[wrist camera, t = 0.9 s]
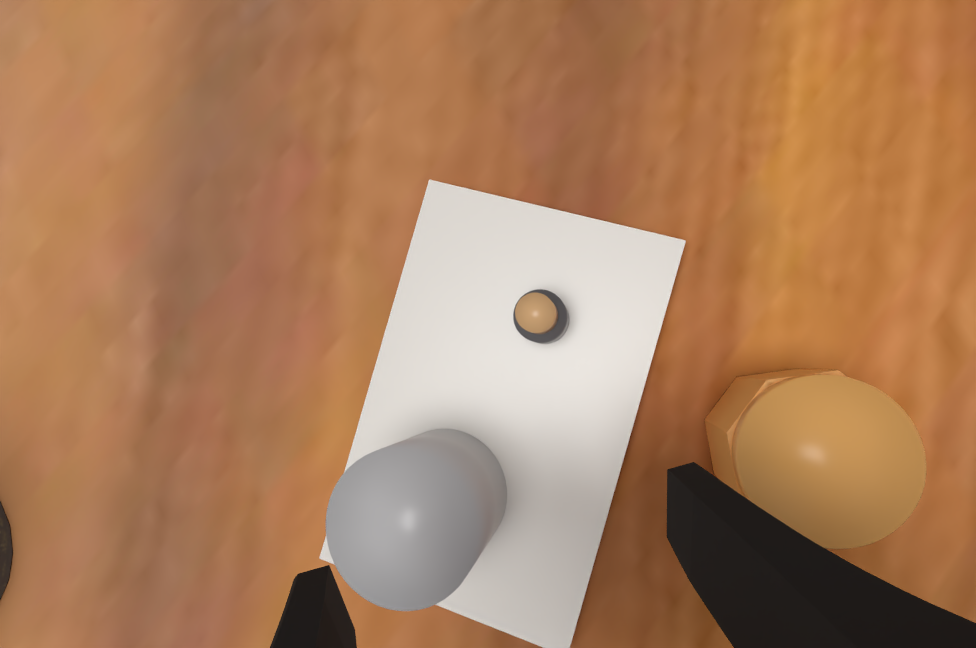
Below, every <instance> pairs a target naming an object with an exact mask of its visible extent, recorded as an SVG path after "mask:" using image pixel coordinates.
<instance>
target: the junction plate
mask: <svg viewBox="0 0 976 648" xmlns="http://www.w3.org/2000/svg"><path fill="white" fill-rule="evenodd" d="M685 242H686V240H681V239H677V238H673V237H669V236H665V235H660V234H656V233H652V232H648V231H643V230H639V229H635V228H631V227H627V226H622V225H618V224H614V223H610V222H606V221H601V220H597V219H593V218H589V217H585V216H580V215H576V214H572V213H568V212H564V211H559V210H555V209H551V208H547V207H542V206H538V205H534V204H530V203H526V202H521V201H517V200H513V199H509V198H505V197H500V196H496V195H492V194H488V193H484V192H479V191H475V190H471V189H467V188H463V187H458V186H454V185H450V184H446V183H441V182H437V181H433V180H429V182H428V186H427V189H426V193H425V196H424V199H423V203H422V206H421V210H420V213H419V217H418V220H417V224H416V227H415V231H414V234H413V237H412V241H411V244H410V248H409V251H408V255H407V258H406V262H405V265H404V268H403V272H402V275H401V279H400V282H399V286H398V289H397V293H396V296H395V299H394V303H393V306H392V310H391V313H390V317H389V320H388V324H387V327H386V330H385V334H384V337H383V341H382V344H381V348H380V351H379V355H378V358H377V362H376V365H375V368H374V372H373V375H372V379H371V382H370V386H369V389H368V393H367V396H366V399H365V403H364V406H363V410H362V413H361V417H360V420H359V424H358V427H357V430H356V434H355V437H354V441H353V444H352V448H351V451H350V455H349V458H348V462H347V465H346V468H345V472H344V474H343V475H342V476H341V478H340V479H339V481H338V482H337V484H336V486H335V488H334V490H333V492H332V495H331V497H330V500H329V504H328V508H327V515H326V537H325V541H324V544H323V548H322V551H321V555H320V559H322V560H325V561H327V562H330V563H332V564H335V566H336V568H337V570H338V571H339V573H340V574H341V576H342V577H343V579H344V580H345V581H346V583H347V584H348V585H349V586H350V587H351V588H352V589H353V590H354V591H355V592H357V593H358V594H359V595H360V596H362V597H363V598H365V599H366V600H368V601H369V602H371V603H373V604H375V605H378V606H380V607H383V608H386V609H391V610H397V611H413V610H420V609H424V608H428V607H430V606H433V605H438V606H440V607H443V608H445V609H448V610H450V611H453V612H455V613H458V614H460V615H463V616H465V617H468V618H470V619H473V620H475V621H478V622H480V623H483V624H485V625H488V626H491V627H493V628H496V629H498V630H501V631H503V632H506V633H508V634H511V635H513V636H516V637H518V638H521V639H523V640H526V641H528V642H531V643H533V644H536V645H538V646H541V647H543V648H570V645H571V642H572V638H573V635H574V631H575V628H576V624H577V621H578V617H579V614H580V610H581V607H582V603H583V600H584V596H585V592H586V589H587V585H588V582H589V578H590V575H591V571H592V568H593V564H594V561H595V557H596V554H597V550H598V547H599V543H600V540H601V536H602V533H603V529H604V526H605V522H606V519H607V515H608V512H609V508H610V505H611V501H612V498H613V494H614V491H615V487H616V484H617V480H618V477H619V473H620V470H621V466H622V463H623V459H624V456H625V452H626V449H627V445H628V442H629V438H630V435H631V431H632V428H633V424H634V421H635V417H636V414H637V410H638V407H639V403H640V400H641V396H642V393H643V389H644V386H645V382H646V379H647V375H648V372H649V368H650V365H651V361H652V358H653V354H654V351H655V347H656V344H657V340H658V337H659V333H660V330H661V326H662V323H663V319H664V316H665V312H666V309H667V305H668V302H669V298H670V295H671V291H672V288H673V284H674V281H675V277H676V273H677V270H678V266H679V263H680V259H681V256H682V252H683V249H684V245H685Z"/></svg>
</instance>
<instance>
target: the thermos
mask: <svg viewBox="0 0 976 648" xmlns="http://www.w3.org/2000/svg"><path fill="white" fill-rule="evenodd" d="M12 554H13V552H12V543H11V534H10V525H9V523H8V520H7V518H6V515H5V513H4V510H3V508H2V505H1V502H0V599H1V597H2V594H3V592H4V590H5V587H6V585H7V583H8V580H9V574H10V567H11V560H12Z"/></svg>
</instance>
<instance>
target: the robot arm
mask: <svg viewBox="0 0 976 648" xmlns="http://www.w3.org/2000/svg"><path fill="white" fill-rule="evenodd" d="M667 538H668V540H669V542H670V544H671V546H672V548H673V550H674V552H675V554H676V556H677V558H678V560H679V562H680V564H681V566H682V568H683V569H684V571H685V573H686V575H687V577H688V579H689V581H690V582H691V584H692V585H693V587H694V589H695V590H696V592H697V593H698V595H699V596H700V598H701V599H702V601H703V602H704V604H705V605H706V607H707V608H708V610H709V611H710V613H711V614H712V616H713V617H714V619H715V620H716V622H717V623H718V625H719V626H720V628H721V629H722V631H723V632H724V634H725V635H726V637H727V638H728V640H729V641H730V643H731V644H732V646H733V647H734V648H976V623H974V622H972V621H969V620H967V619H965V618H963V617H960V616H958V615H956V614H953V613H951V612H949V611H947V610H944V609H942V608H940V607H938V606H935V605H933V604H931V603H928V602H926V601H924V600H922V599H920V598H918V597H916V596H914V595H911V594H909V593H907V592H905V591H903V590H901V589H899V588H897V587H895V586H893V585H891V584H889V583H887V582H885V581H883V580H881V579H879V578H878V577H876V576H874V575H872V574H870V573H868V572H866V571H864V570H862V569H860V568H858V567H856V566H855V565H853V564H851V563H849V562H847V561H846V560H844V559H842V558H840V557H839V556H837V555H835V554H833V553H832V552H830V551H828V550H827V549H825V548H823V547H821V546H820V545H818V544H816V543H815V542H813V541H811V540H810V539H808V538H807V537H805V536H803V535H802V534H800V533H798V532H797V531H795V530H794V529H792V528H791V527H789V526H788V525H786V524H784V523H783V522H781V521H780V520H778V519H777V518H775V517H774V516H772V515H770V514H769V513H767V512H766V511H764V510H763V509H761V508H760V507H758V506H757V505H755V504H754V503H752V502H751V501H750V500H748V499H747V498H745V497H744V496H742V495H741V494H739V493H738V492H736V491H735V490H734V489H732V488H731V487H729V486H728V485H726V484H725V483H723V482H722V481H721V480H719V479H718V478H716V477H715V476H713V475H712V474H711V473H709V472H708V471H706V470H705V469H703V468H702V467H700V466H699V465H697V464H696V463H694V462H693V463H689V464H685V465H682V466H678V467H675V468H671V469H668V470H667ZM270 648H357V646H356V636H355V629H354V626H353V624H352V621H351V619H350V616H349V614H348V611H347V609H346V606H345V604H344V601H343V599H342V596H341V594H340V591H339V589H338V586H337V584H336V581H335V579H334V576H333V574H332V571H331V569H330V566H329V565H328V566H324V567H321V568H317V569H314V570H310V571H307V572H303V573H300V574H298V575H297V576H296V577H295V579H294V581H293V584H292V587H291V590H290V593H289V596H288V599H287V602H286V605H285V608H284V611H283V614H282V617H281V620H280V622H279V625H278V628H277V630H276V633H275V636H274V638H273V641H272V644H271V646H270Z"/></svg>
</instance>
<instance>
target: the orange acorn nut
mask: <svg viewBox="0 0 976 648" xmlns="http://www.w3.org/2000/svg"><path fill="white" fill-rule="evenodd" d="M704 421H705V427H706V432H707V438H708V443H709V449H710V454H711V460H712V465H713V471H714V475H715V476H716V477H717V478H718V479H719V480H721V481H722V482H723V483H725V484H726V485H728V486H729V487H731V488H732V489H734V490H735V491H736V492H738V493H739V494H741V495H742V496H744V497H745V498H747V499H748V500H750V501H751V502H752V503H754V504H755V505H757V506H758V507H760V508H761V509H763V510H764V511H766V512H767V513H769V514H770V515H772V516H774V517H775V518H777V519H778V520H780V521H781V522H783V523H784V524H786V525H788V526H789V527H791V528H792V529H794V530H795V531H797V532H798V533H800V534H802V535H803V536H805V537H807V538H808V539H810V540H811V541H813V542H815V543H816V544H818V545H820V546H821V547H823V548H829V549H849V548H856V547H861V546H865V545H868V544H871V543H874V542H876V541H878V540H881V539H883V538H884V537H886V536H888V535H889V534H891V533H893V532H894V531H895V530H896V529H898V528H899V527H900V526H901V525H902V524H903V523H904V522H905V521H906V520H907V519H908V518H909V517H910V515H911V514H912V512H913V511H914V509H915V508H916V506H917V504H918V502H919V500H920V498H921V495H922V492H923V489H924V485H925V479H926V457H925V450H924V447H923V443H922V440H921V437H920V435H919V433H918V431H917V429H916V427H915V425H914V424H913V422H912V420H911V419H910V417H909V416H908V415H907V413H906V412H905V411H904V410H903V409H902V407H900V406H899V405H898V404H897V403H896V402H895V401H894V400H893V399H892V398H890V397H889V396H888V395H886V394H885V393H884V392H882V391H880V390H879V389H877V388H875V387H873V386H872V385H869V384H867V383H864V382H862V381H859V380H856V379H852V378H849V377H847V376H846V375H844V374H843V373H841V372H840V371H839V370H824V369H790V370H783V371H776V372H769V373H762V374H755V375H747V376H740V377H736V379H735V380H734V381H733V382H732V384H731V385H730V386H729V388H728V389H727V390H726V392H725V393H724V394H723V396H722V397H721V398H720V400H719V401H718V402H717V404H716V405H715V406H714V408H713V409H712V410H711V412H710V413H709V414H708V416H707V417H706V418H705V419H704Z"/></svg>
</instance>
